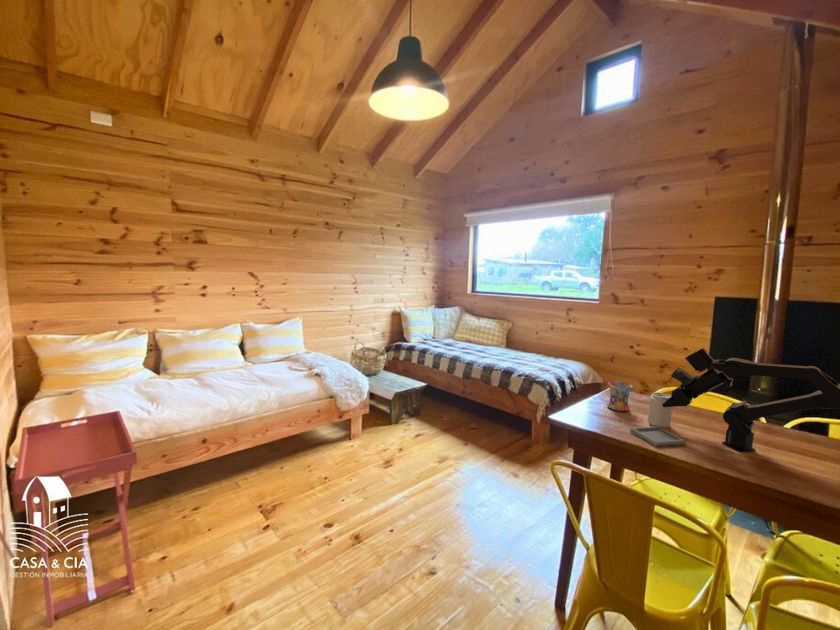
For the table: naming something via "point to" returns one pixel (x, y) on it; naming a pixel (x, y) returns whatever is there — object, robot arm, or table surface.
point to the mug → (619, 395)
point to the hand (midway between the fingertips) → (666, 403)
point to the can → (659, 410)
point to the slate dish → (657, 436)
